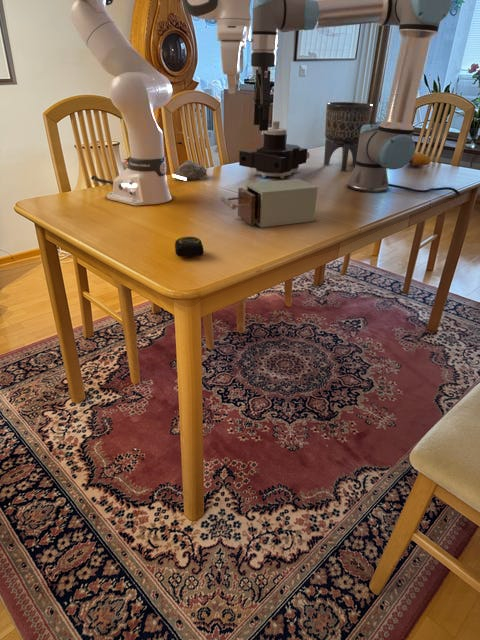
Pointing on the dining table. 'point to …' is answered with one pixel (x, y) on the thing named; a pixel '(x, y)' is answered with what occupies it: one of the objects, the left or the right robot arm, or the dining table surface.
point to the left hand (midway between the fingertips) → (233, 92)
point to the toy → (419, 159)
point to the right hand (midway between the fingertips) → (260, 127)
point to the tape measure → (189, 247)
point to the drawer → (246, 205)
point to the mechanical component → (274, 154)
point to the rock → (191, 171)
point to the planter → (344, 129)
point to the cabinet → (285, 202)
